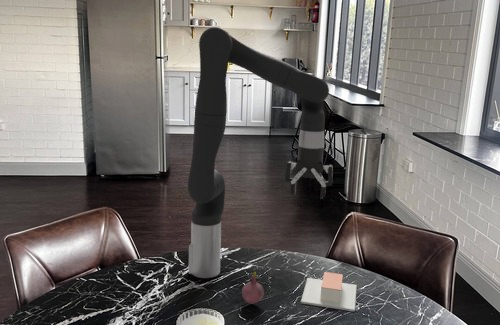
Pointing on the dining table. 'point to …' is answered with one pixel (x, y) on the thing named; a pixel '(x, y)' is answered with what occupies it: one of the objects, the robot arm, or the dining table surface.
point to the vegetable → (252, 291)
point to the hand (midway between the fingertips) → (307, 196)
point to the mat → (313, 298)
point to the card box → (331, 287)
